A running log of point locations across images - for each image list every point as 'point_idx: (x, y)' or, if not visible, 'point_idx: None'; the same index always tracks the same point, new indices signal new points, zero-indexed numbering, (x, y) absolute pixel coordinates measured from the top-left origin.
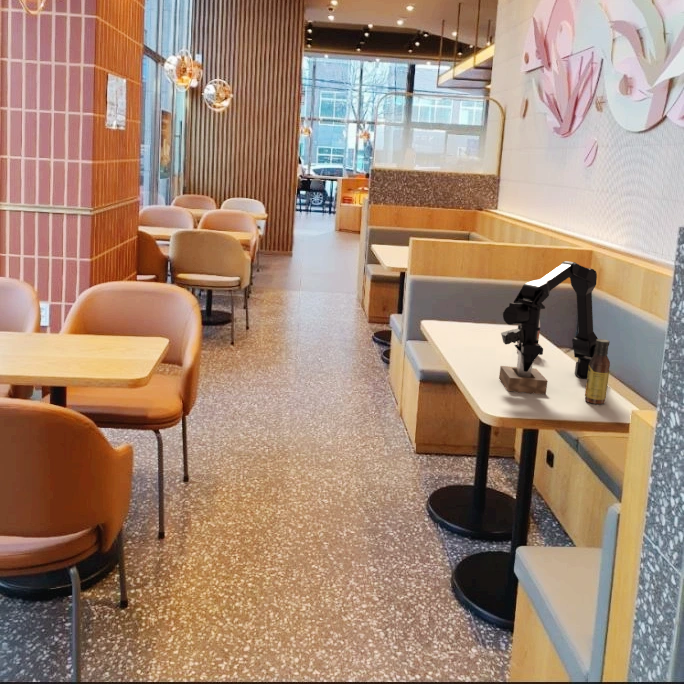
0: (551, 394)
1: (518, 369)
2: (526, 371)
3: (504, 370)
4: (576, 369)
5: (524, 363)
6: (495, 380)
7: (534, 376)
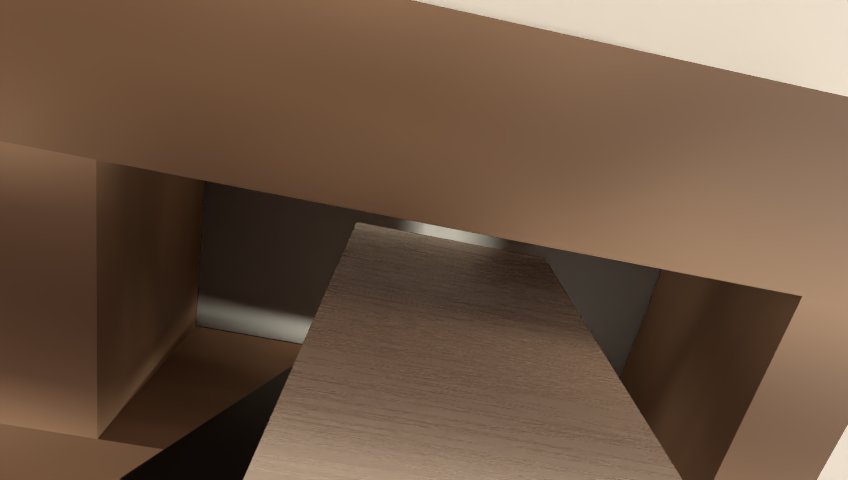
0: None
1: (409, 299)
2: None
3: (612, 51)
4: None
5: (150, 466)
6: (733, 13)
7: None
